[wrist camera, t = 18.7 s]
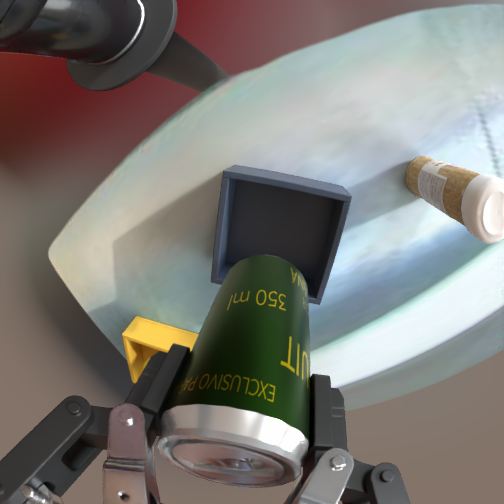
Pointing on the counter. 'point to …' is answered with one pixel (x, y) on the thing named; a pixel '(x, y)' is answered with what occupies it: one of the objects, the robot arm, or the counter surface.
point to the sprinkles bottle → (461, 195)
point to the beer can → (246, 382)
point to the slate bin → (279, 223)
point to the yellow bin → (151, 342)
